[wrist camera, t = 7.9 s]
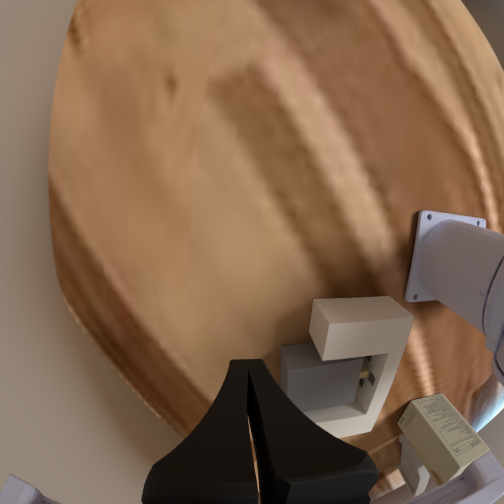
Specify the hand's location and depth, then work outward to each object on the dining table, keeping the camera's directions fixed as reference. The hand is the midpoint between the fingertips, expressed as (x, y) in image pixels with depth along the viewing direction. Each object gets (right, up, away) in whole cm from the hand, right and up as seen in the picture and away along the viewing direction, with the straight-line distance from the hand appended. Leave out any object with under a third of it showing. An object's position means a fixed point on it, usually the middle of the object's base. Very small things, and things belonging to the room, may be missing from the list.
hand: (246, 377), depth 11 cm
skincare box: (+22, -14, +16) cm, 31 cm away
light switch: (+23, -25, +19) cm, 39 cm away
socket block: (+8, -5, +12) cm, 15 cm away
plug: (+6, -5, +12) cm, 14 cm away
